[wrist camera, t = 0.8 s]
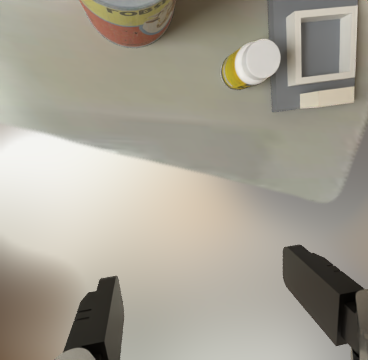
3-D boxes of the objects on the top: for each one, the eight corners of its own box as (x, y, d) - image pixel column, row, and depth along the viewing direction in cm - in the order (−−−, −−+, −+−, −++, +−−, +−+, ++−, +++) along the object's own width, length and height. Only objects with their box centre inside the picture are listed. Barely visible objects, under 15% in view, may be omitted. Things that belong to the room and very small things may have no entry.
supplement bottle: (229, 96, 36) (254, 90, 28) (213, 65, 35) (234, 49, 27) (258, 78, 36) (291, 67, 28) (243, 46, 35) (273, 25, 27)
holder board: (263, -108, 31) (287, -154, 26) (352, -111, 32) (393, -156, 27) (272, 112, 38) (293, 110, 32) (346, 101, 39) (377, 99, 34)
